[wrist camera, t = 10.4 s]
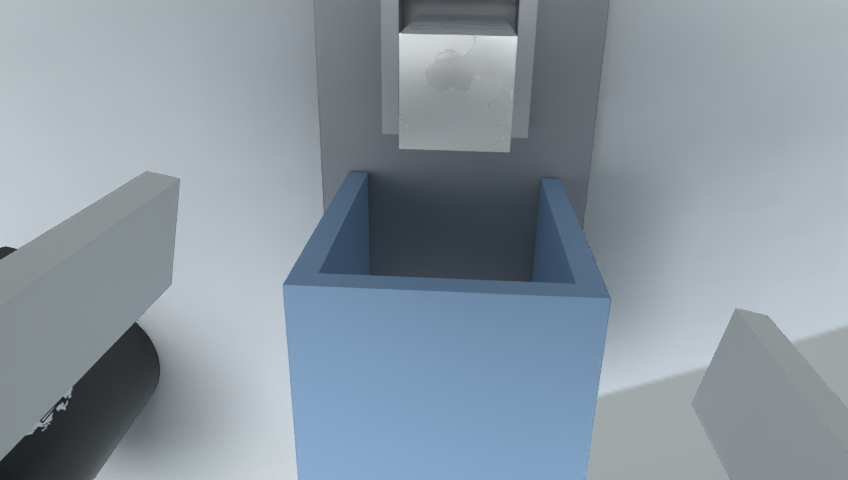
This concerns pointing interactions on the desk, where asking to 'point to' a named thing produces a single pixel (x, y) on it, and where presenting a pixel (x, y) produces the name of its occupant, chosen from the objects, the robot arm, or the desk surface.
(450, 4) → the housing base
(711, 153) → the desk surface
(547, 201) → the housing cover
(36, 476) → the water bottle
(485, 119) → the steel block
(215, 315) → the desk surface
